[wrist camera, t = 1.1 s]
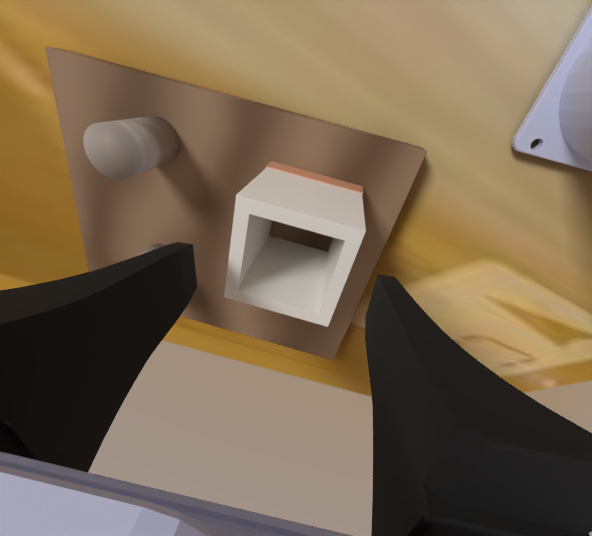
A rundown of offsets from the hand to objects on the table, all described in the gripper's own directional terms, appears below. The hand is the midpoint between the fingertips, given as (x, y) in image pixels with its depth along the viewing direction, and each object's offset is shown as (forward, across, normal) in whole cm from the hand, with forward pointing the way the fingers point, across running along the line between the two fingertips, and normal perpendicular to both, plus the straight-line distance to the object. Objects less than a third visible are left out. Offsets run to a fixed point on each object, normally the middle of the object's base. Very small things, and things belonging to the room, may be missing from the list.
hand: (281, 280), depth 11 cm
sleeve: (+7, 0, 0) cm, 7 cm away
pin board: (+8, +5, +2) cm, 10 cm away
